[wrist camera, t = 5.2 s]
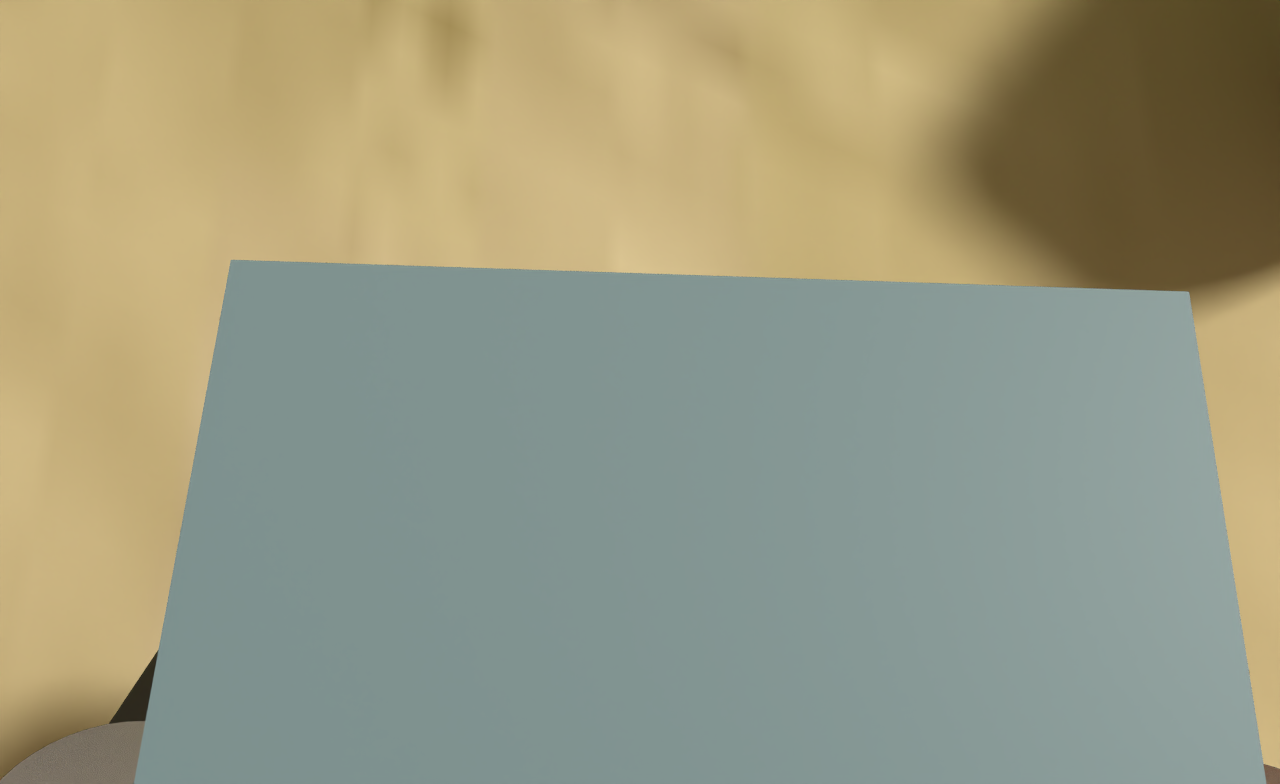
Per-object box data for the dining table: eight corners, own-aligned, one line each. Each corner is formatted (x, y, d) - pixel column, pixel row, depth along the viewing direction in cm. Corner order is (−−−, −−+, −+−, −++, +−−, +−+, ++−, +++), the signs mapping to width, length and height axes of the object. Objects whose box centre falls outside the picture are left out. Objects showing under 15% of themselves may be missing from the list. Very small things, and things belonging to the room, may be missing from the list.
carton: (447, 972, 14) (32, 1318, 4) (478, 603, 15) (230, 258, 6) (864, 987, 14) (1383, 1372, 4) (851, 616, 15) (1205, 292, 6)
